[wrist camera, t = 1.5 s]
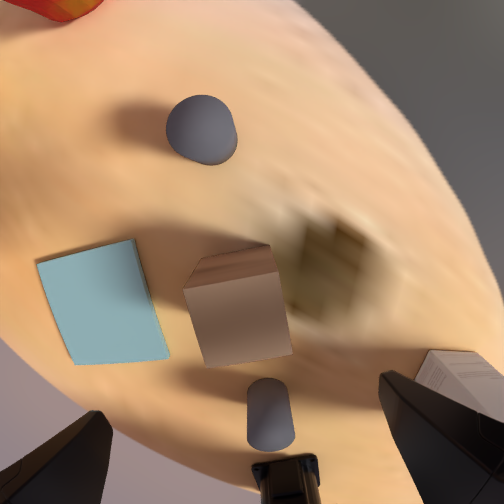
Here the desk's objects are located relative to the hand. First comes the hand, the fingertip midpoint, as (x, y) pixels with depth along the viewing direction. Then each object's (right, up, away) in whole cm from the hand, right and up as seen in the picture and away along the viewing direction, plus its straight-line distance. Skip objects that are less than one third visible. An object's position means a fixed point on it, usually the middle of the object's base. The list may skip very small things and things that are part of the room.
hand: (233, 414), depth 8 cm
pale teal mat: (-11, 0, +12) cm, 17 cm away
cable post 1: (-2, +12, +10) cm, 15 cm away
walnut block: (0, +3, +12) cm, 12 cm away
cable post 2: (+2, -6, +14) cm, 16 cm away
